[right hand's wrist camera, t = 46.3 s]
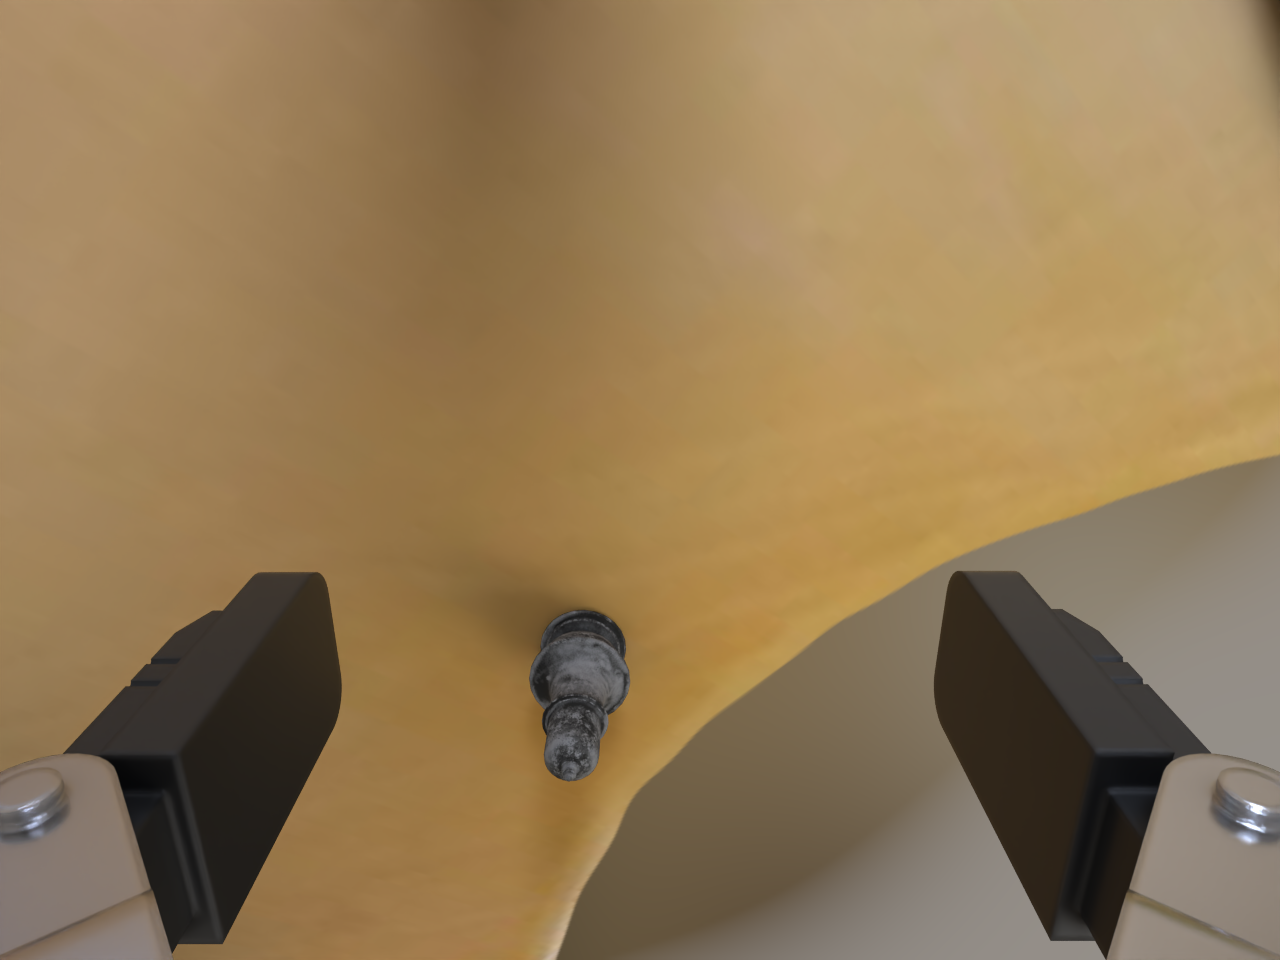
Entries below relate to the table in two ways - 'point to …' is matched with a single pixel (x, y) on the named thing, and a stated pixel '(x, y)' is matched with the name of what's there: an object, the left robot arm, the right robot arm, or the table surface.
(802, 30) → the table surface
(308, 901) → the table surface
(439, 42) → the table surface
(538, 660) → the grey tall turned piece
